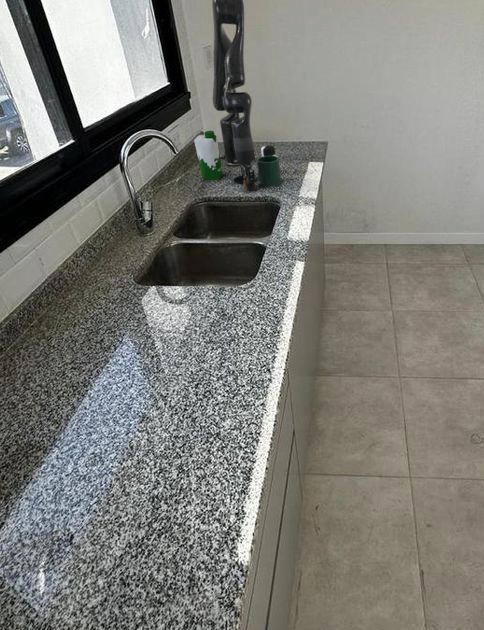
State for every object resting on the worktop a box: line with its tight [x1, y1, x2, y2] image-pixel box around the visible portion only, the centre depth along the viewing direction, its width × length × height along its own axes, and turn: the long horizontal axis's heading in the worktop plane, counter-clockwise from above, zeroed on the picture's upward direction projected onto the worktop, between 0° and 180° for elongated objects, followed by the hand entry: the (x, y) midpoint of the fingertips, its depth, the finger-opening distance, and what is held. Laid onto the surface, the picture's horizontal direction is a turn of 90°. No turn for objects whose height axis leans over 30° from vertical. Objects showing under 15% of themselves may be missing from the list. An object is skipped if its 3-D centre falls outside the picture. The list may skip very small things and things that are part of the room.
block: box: [242, 179, 257, 192], centre depth 183 cm, size 4×4×4 cm
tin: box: [256, 155, 282, 187], centre depth 186 cm, size 9×9×10 cm
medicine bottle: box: [260, 145, 279, 158], centre depth 196 cm, size 7×7×12 cm
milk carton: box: [193, 130, 224, 181], centre depth 191 cm, size 9×9×20 cm
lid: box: [233, 170, 258, 185], centre depth 190 cm, size 10×10×6 cm
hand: (250, 189), depth 184 cm, fingers closed on block, 4 cm apart
